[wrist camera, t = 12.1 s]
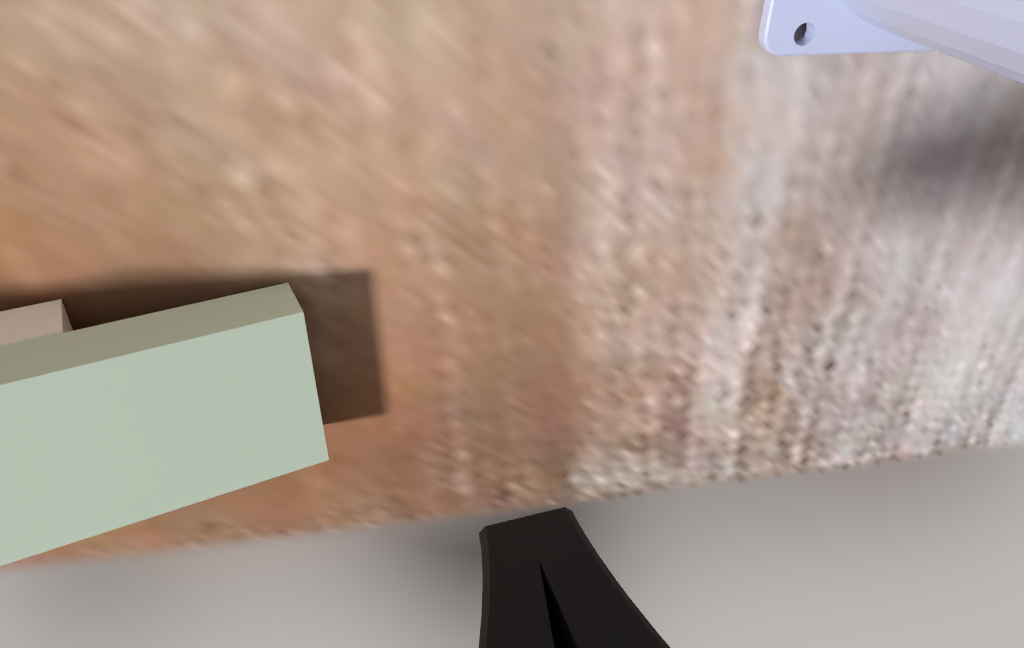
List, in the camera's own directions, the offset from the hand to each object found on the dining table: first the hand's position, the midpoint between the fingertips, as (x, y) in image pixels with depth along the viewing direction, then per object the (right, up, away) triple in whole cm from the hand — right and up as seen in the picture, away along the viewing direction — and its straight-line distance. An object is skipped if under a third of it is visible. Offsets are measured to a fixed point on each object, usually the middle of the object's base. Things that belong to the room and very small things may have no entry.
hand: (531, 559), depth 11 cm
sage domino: (-6, +2, +9) cm, 11 cm away
